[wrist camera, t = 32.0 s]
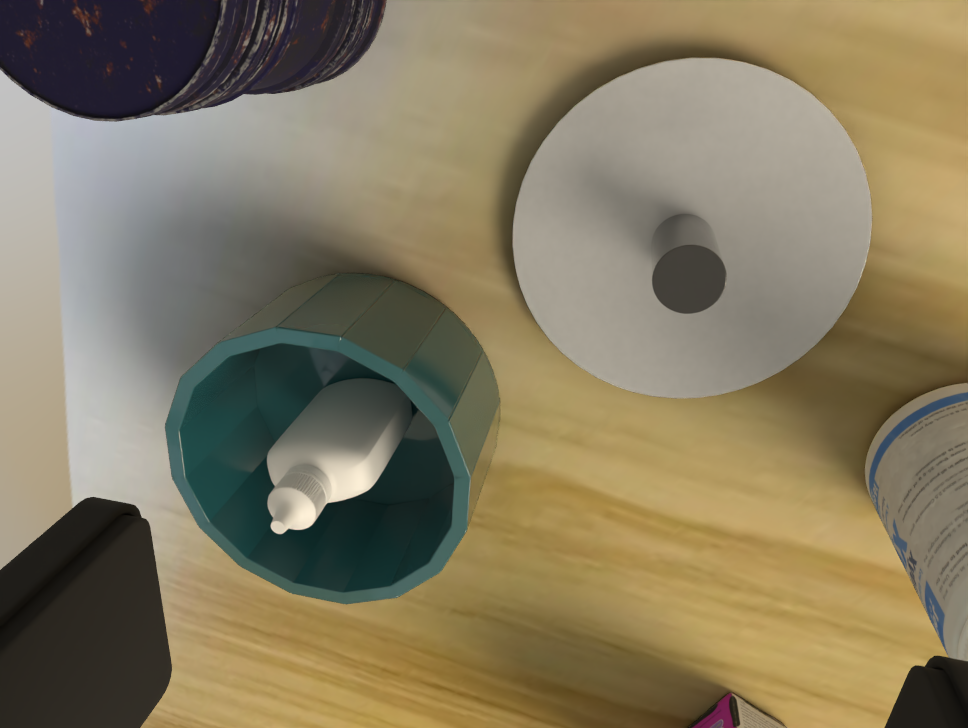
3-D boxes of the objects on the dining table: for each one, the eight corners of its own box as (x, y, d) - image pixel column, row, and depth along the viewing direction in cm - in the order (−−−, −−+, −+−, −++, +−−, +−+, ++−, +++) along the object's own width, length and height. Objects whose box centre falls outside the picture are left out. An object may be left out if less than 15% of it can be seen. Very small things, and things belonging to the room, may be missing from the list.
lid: (531, 42, 34) (507, 46, 28) (914, 72, 32) (975, 84, 26) (503, 365, 41) (479, 423, 36) (814, 410, 39) (844, 480, 33)
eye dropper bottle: (397, 451, 45) (320, 588, 34) (313, 410, 44) (209, 533, 34) (424, 395, 43) (350, 521, 32) (336, 351, 42) (233, 463, 32)
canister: (238, 256, 42) (147, 308, 34) (511, 291, 39) (479, 356, 32) (255, 486, 48) (184, 572, 41) (490, 528, 46) (460, 627, 39)
